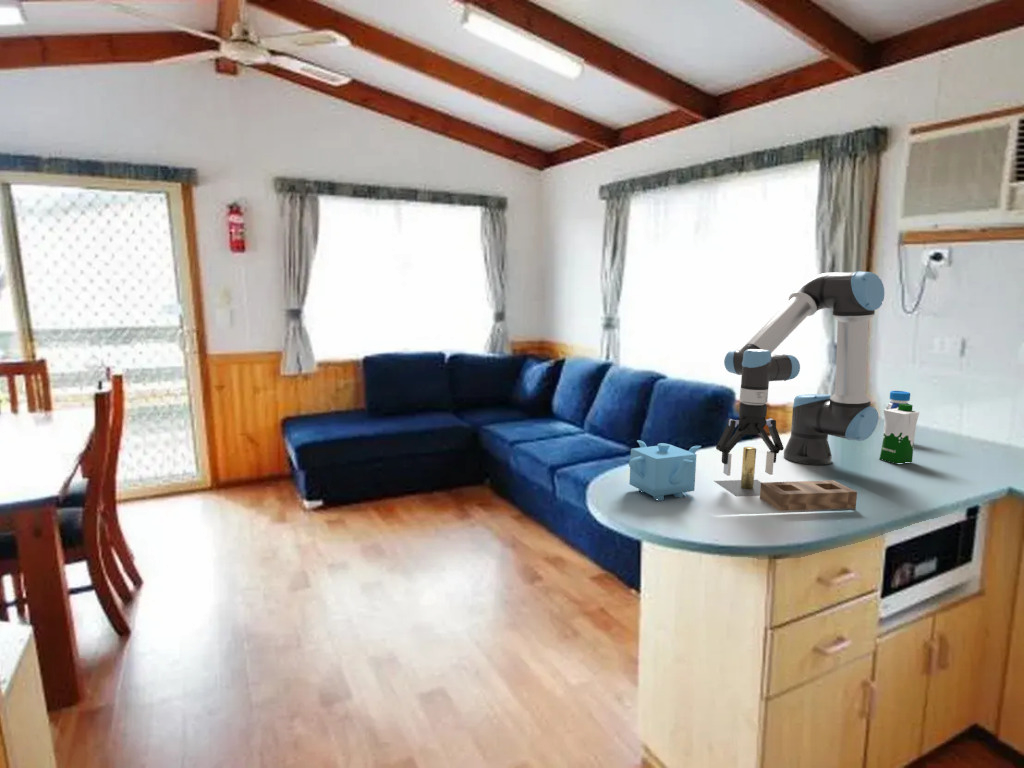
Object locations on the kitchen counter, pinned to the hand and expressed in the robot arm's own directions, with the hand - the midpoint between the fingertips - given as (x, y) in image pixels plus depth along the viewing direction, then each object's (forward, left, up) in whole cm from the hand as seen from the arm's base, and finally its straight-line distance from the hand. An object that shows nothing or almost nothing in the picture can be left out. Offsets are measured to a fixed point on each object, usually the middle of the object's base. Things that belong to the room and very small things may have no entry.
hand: (747, 473), depth 179 cm
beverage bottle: (-89, -50, -5) cm, 102 cm away
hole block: (-10, +14, -5) cm, 18 cm away
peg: (0, 0, -4) cm, 4 cm away
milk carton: (-68, -24, -5) cm, 72 cm away
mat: (0, 0, -5) cm, 5 cm away
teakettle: (+26, +1, -5) cm, 26 cm away
